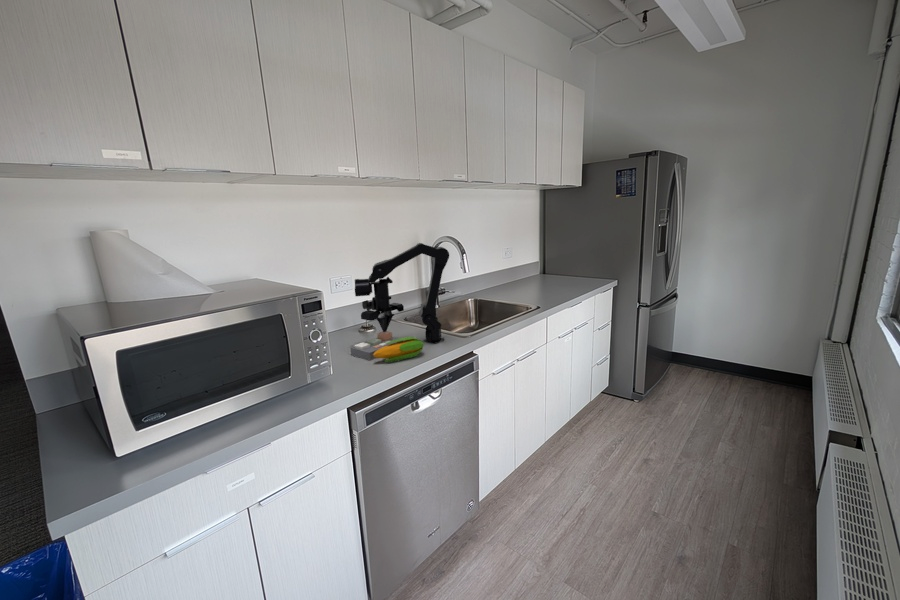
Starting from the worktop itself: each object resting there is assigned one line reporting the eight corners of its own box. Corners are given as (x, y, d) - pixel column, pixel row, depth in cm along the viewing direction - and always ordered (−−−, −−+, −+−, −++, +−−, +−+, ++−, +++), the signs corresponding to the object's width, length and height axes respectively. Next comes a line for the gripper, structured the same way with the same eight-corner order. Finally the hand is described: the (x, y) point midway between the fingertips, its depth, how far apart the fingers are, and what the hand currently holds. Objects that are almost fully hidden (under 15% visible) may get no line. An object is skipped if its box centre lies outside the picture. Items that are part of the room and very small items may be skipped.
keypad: (384, 341, 170) (384, 334, 169) (403, 346, 163) (403, 338, 162) (351, 354, 156) (350, 346, 155) (370, 360, 149) (369, 352, 149)
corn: (426, 336, 150) (375, 346, 141) (428, 355, 152) (377, 367, 142) (418, 332, 157) (368, 342, 147) (419, 351, 158) (371, 362, 149)
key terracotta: (385, 338, 168) (384, 330, 167) (392, 340, 165) (391, 332, 165) (377, 341, 165) (377, 333, 164) (385, 343, 162) (384, 335, 161)
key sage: (374, 346, 164) (374, 338, 163) (382, 348, 161) (381, 339, 160) (367, 349, 160) (366, 340, 160) (374, 351, 158) (373, 342, 157)
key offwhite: (363, 350, 159) (362, 342, 158) (370, 352, 156) (369, 344, 156) (355, 353, 156) (354, 345, 155) (362, 355, 153) (361, 347, 152)
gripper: (384, 288, 173) (387, 323, 176) (350, 297, 158) (353, 334, 162) (403, 290, 166) (405, 327, 169) (369, 299, 152) (372, 339, 155)
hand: (384, 331), depth 164 cm, fingers closed
